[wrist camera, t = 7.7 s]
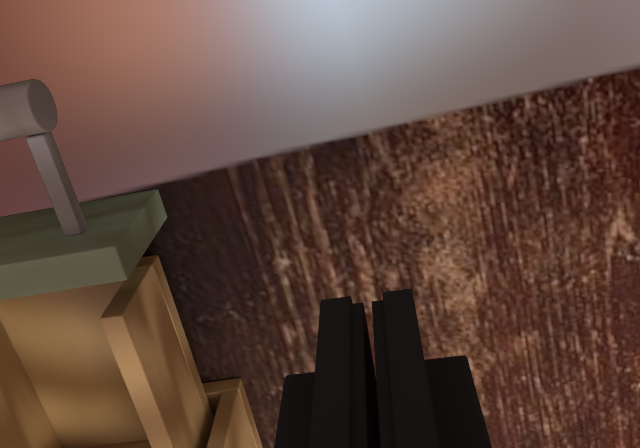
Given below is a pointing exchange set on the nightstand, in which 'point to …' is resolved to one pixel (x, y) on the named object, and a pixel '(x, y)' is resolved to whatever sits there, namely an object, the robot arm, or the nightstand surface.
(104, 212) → the drawer
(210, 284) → the nightstand surface
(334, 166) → the nightstand surface
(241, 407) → the cabinet
